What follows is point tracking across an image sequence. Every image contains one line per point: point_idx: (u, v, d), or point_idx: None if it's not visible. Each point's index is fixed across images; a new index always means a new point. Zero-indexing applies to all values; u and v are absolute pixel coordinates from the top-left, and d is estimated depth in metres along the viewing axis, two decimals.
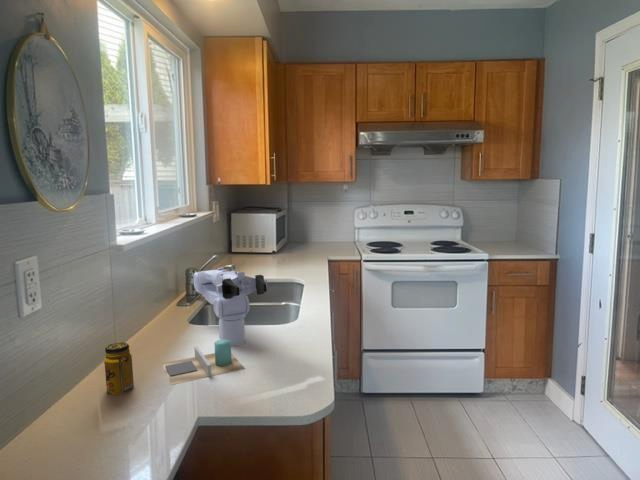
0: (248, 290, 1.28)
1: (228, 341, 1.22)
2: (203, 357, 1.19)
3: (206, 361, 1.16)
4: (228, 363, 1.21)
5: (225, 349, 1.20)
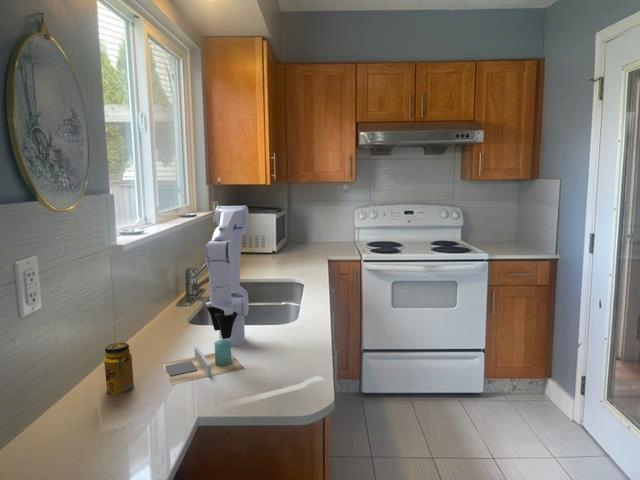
0: None
1: (228, 341, 1.22)
2: (203, 357, 1.19)
3: (206, 361, 1.16)
4: (228, 363, 1.21)
5: (225, 349, 1.20)
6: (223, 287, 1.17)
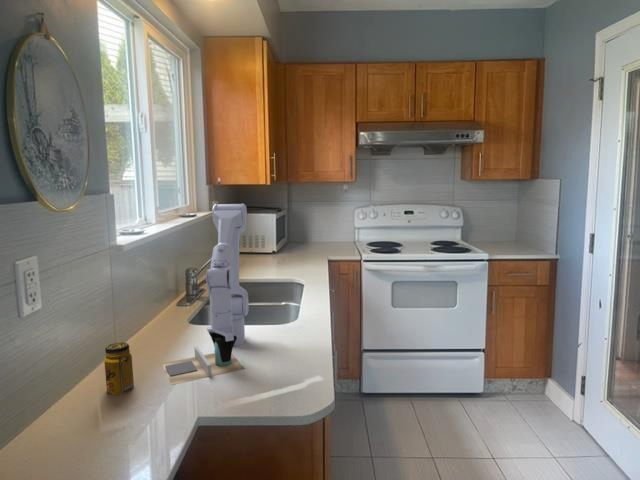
0: None
1: None
2: (203, 357, 1.19)
3: (206, 361, 1.16)
4: (228, 363, 1.21)
5: None
6: (224, 313, 1.18)
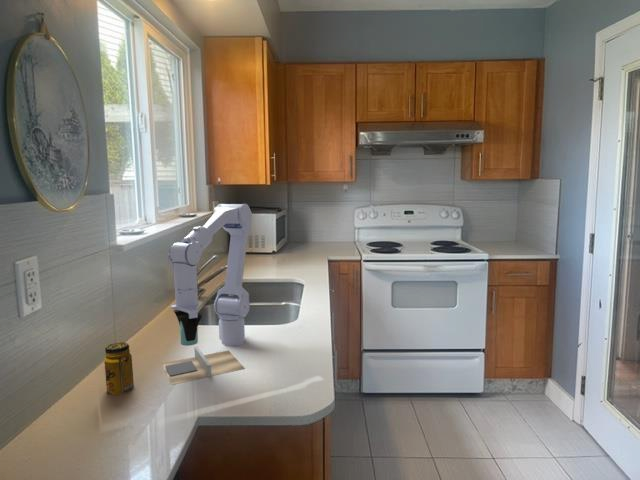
0: None
1: None
2: (203, 357, 1.19)
3: (206, 361, 1.16)
4: (193, 342, 1.17)
5: None
6: (189, 290, 1.15)
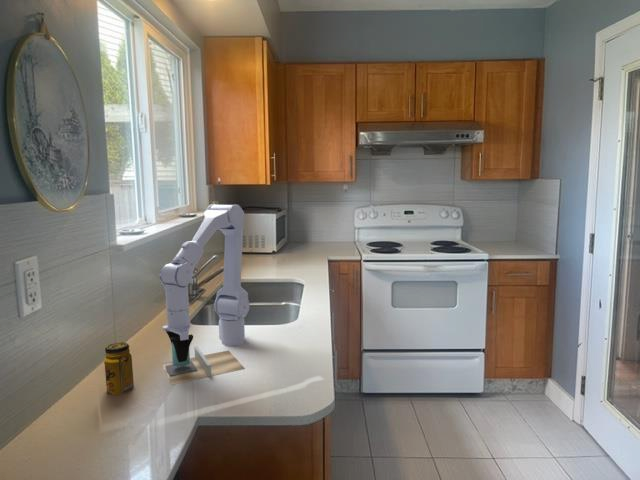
0: None
1: None
2: (203, 357, 1.19)
3: (206, 361, 1.16)
4: (185, 363, 1.17)
5: None
6: (180, 311, 1.15)
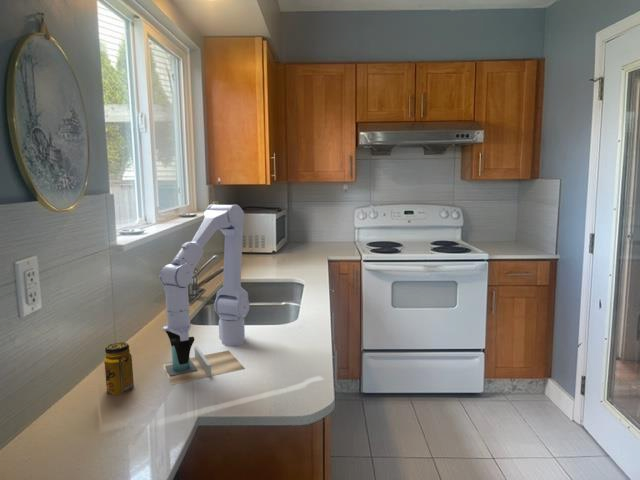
0: None
1: None
2: (203, 357, 1.19)
3: (206, 361, 1.16)
4: (185, 368, 1.18)
5: None
6: (180, 312, 1.15)
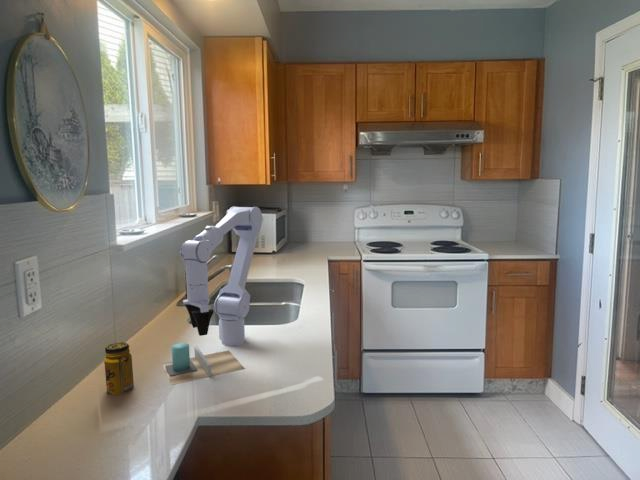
0: None
1: (186, 345, 1.19)
2: (203, 357, 1.19)
3: (206, 361, 1.16)
4: (185, 368, 1.18)
5: (182, 354, 1.17)
6: (200, 286, 1.20)
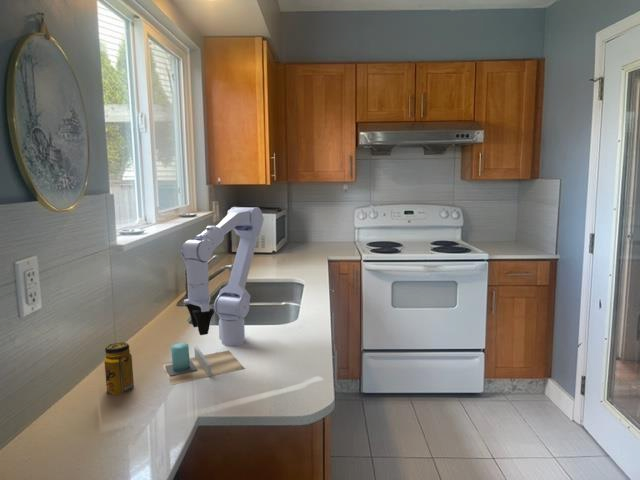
0: None
1: (186, 345, 1.19)
2: (203, 357, 1.19)
3: (206, 361, 1.16)
4: (185, 368, 1.17)
5: (182, 354, 1.16)
6: (201, 285, 1.21)
